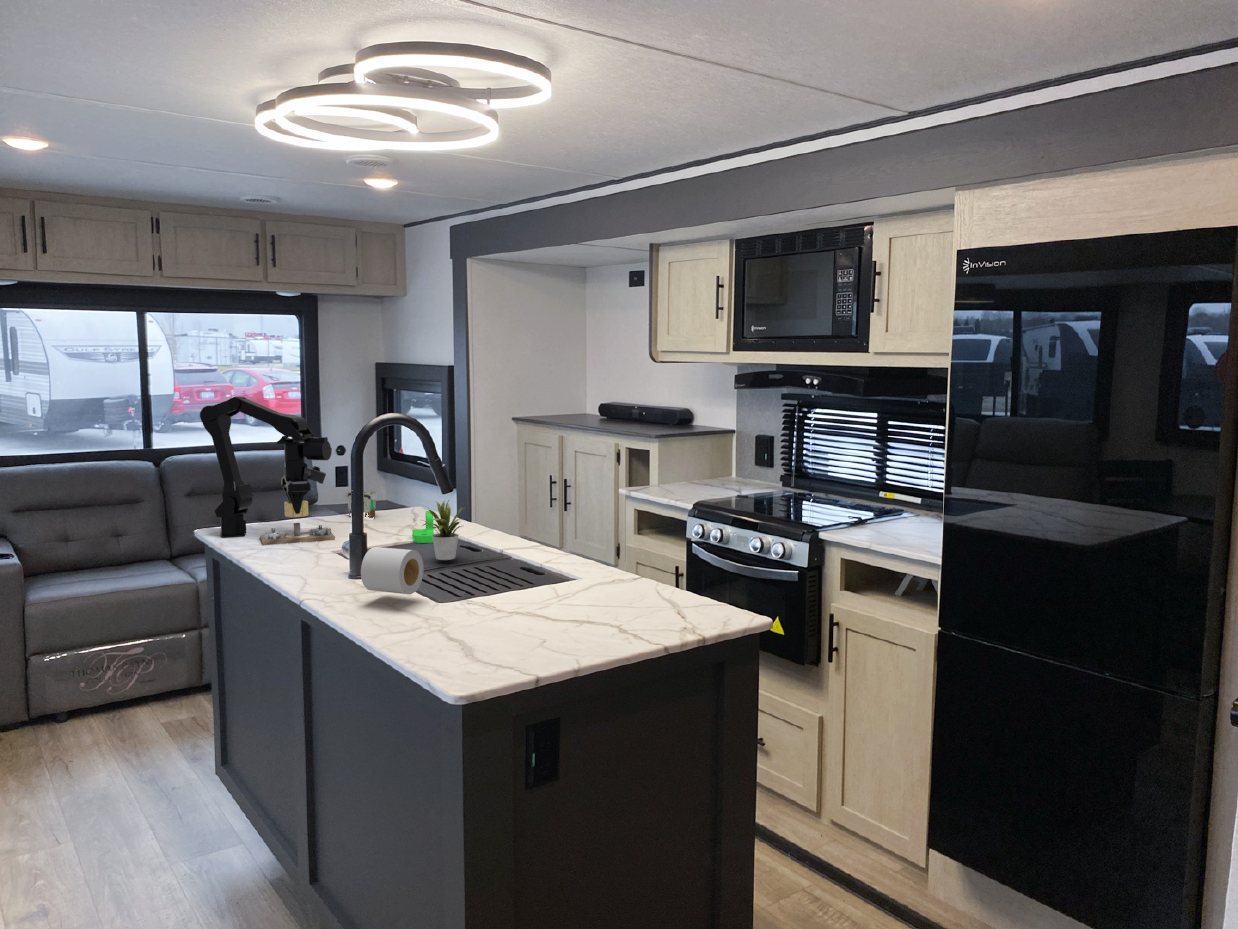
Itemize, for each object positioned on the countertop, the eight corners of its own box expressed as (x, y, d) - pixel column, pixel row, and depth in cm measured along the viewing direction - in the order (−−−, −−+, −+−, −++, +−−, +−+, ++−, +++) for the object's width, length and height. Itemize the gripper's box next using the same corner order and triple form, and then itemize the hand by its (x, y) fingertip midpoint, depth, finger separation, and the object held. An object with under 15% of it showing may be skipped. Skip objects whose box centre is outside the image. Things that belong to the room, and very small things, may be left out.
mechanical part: (412, 536, 279) (412, 510, 278) (432, 535, 280) (432, 509, 280) (414, 543, 267) (413, 516, 266) (435, 542, 269) (434, 515, 268)
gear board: (262, 545, 261) (262, 528, 260) (259, 539, 270) (259, 522, 269) (335, 540, 270) (334, 523, 269) (329, 534, 279) (329, 518, 278)
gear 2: (311, 536, 269) (311, 527, 268) (308, 533, 274) (308, 524, 274) (332, 535, 271) (332, 526, 271) (329, 531, 277) (329, 523, 276)
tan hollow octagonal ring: (286, 517, 265) (285, 504, 264) (283, 514, 270) (283, 501, 270) (309, 516, 268) (309, 502, 267) (306, 513, 273) (306, 499, 273)
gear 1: (263, 540, 263) (263, 530, 262) (261, 536, 268) (261, 527, 268) (285, 538, 265) (285, 529, 265) (283, 535, 271) (283, 526, 270)
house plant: (406, 555, 248) (405, 496, 246) (452, 550, 256) (452, 492, 255) (429, 565, 237) (428, 503, 235) (476, 558, 245) (476, 498, 243)
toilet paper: (423, 588, 212) (423, 546, 211) (399, 599, 202) (398, 554, 201) (386, 585, 215) (386, 543, 214) (361, 594, 206) (360, 551, 205)
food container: (386, 521, 303) (385, 491, 302) (372, 524, 298) (371, 493, 297) (360, 518, 310) (360, 488, 309) (346, 520, 305) (345, 490, 304)
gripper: (328, 461, 262) (329, 515, 264) (318, 455, 279) (320, 506, 281) (287, 463, 258) (288, 517, 259) (280, 456, 274) (281, 508, 276)
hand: (296, 512), depth 269 cm, fingers closed on tan hollow octagonal ring, 6 cm apart
